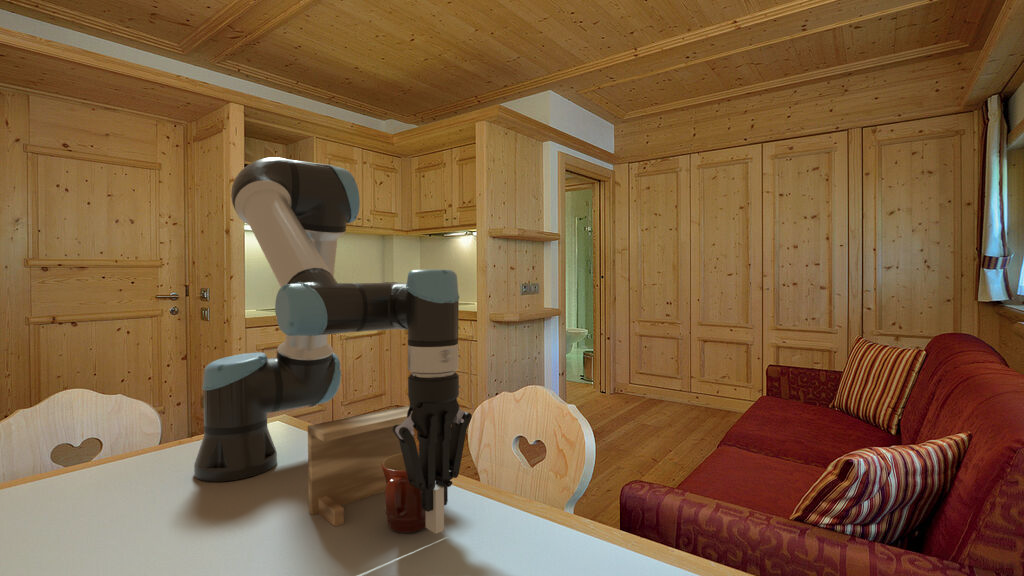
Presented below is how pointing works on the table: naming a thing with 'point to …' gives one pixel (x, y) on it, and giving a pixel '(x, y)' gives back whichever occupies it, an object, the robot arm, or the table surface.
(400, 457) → the mug
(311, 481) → the wooden standing sign
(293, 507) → the table surface
